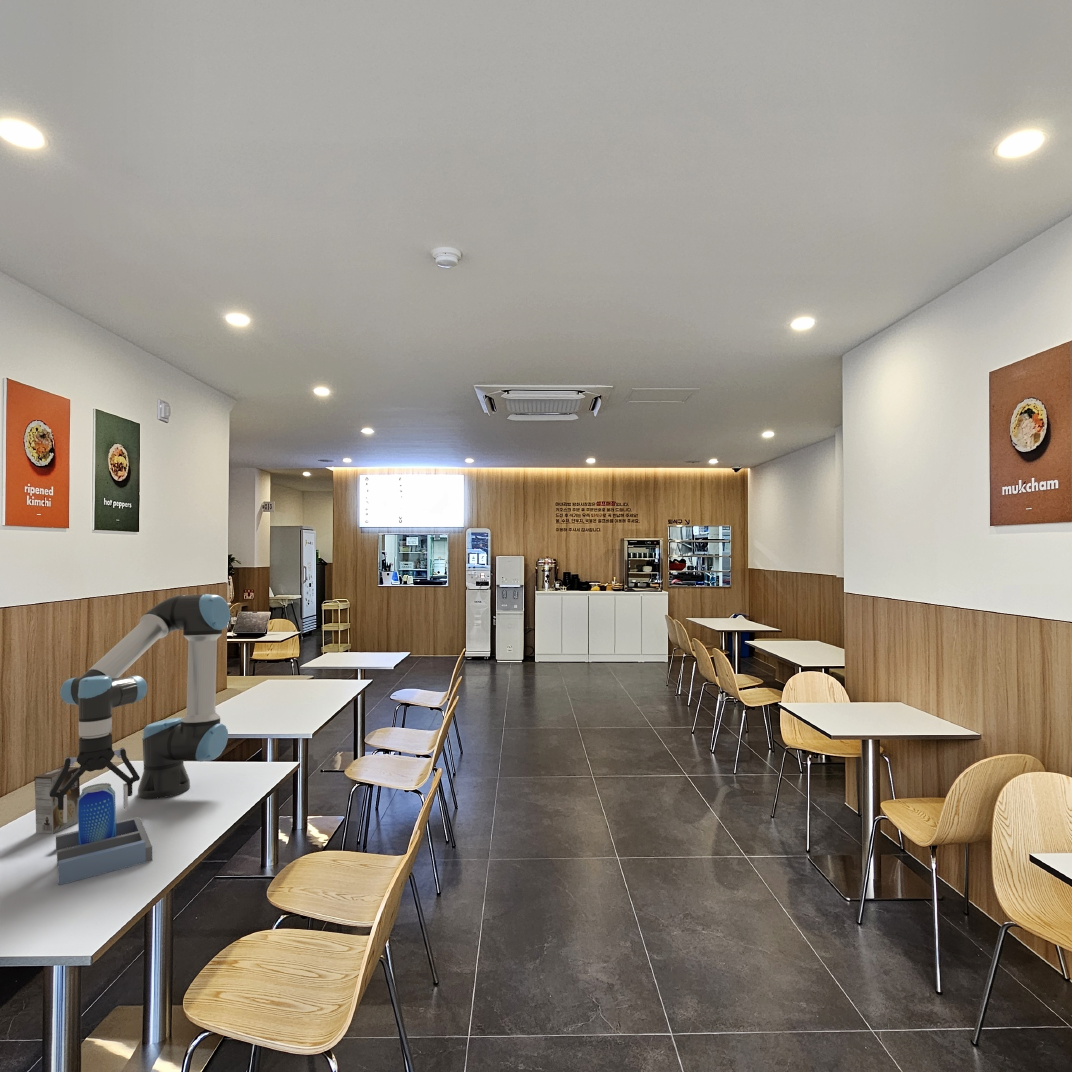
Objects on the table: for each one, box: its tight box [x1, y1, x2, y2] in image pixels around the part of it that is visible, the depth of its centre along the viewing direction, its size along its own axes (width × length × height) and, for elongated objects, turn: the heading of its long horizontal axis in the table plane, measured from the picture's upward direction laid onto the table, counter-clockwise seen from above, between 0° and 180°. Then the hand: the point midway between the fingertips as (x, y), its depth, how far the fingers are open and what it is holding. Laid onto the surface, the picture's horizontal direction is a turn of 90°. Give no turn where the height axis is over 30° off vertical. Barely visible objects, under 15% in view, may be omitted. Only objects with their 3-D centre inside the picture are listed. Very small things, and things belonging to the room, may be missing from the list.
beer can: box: [77, 782, 117, 845], centre depth 181 cm, size 8×8×16 cm
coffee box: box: [34, 766, 81, 834], centre depth 197 cm, size 9×6×16 cm
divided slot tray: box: [55, 816, 153, 886], centre depth 177 cm, size 20×26×5 cm
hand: (96, 815), depth 181 cm, fingers open, 13 cm apart
